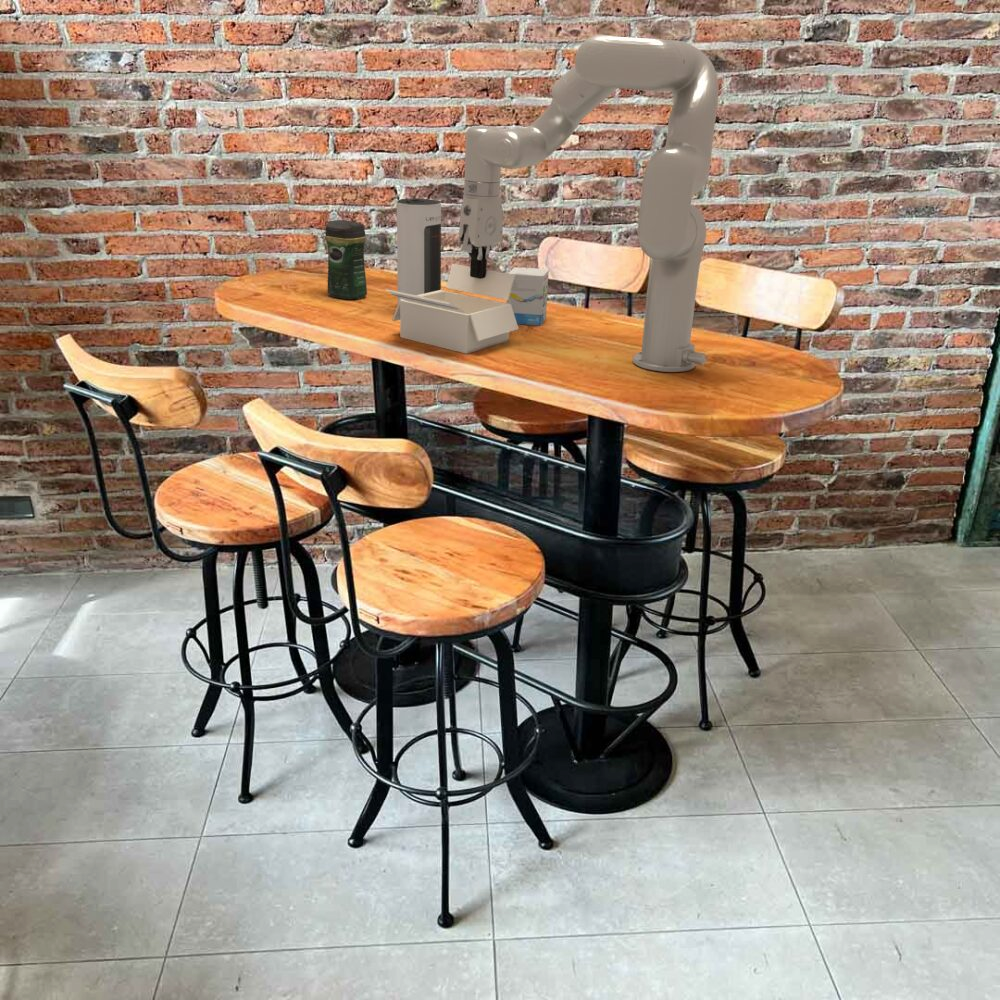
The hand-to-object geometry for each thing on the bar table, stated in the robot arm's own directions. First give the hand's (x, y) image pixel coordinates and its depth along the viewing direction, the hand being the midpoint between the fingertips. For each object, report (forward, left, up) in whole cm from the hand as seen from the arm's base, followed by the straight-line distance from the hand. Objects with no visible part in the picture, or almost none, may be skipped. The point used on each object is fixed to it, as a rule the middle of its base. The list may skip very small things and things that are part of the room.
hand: (477, 277), depth 213 cm
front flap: (0, +15, -4) cm, 16 cm away
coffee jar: (+46, -5, -13) cm, 48 cm away
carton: (0, +8, -12) cm, 15 cm away
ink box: (-1, -17, -13) cm, 21 cm away
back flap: (0, +1, -4) cm, 4 cm away
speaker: (+22, -5, -12) cm, 25 cm away
